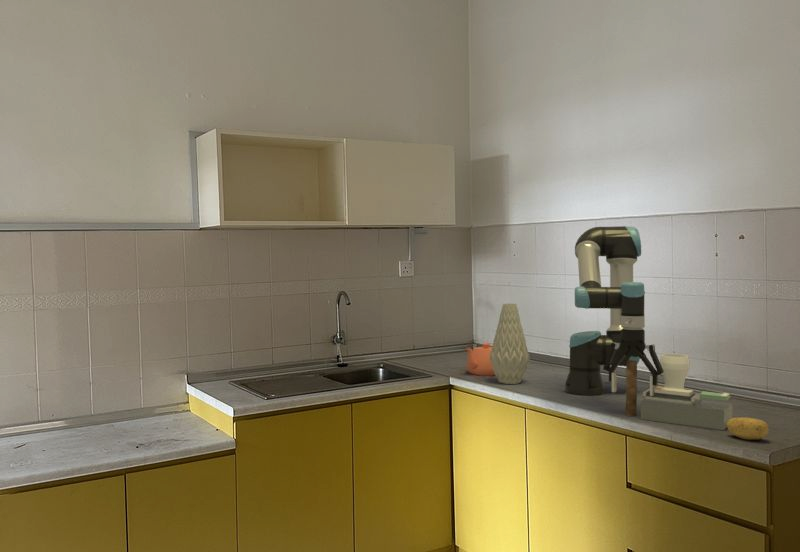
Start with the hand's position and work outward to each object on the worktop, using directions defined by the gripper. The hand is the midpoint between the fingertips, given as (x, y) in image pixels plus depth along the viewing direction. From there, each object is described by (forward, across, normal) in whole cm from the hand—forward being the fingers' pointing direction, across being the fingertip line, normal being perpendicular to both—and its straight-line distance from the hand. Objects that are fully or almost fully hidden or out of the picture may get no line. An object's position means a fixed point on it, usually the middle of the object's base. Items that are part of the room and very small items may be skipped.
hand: (632, 393), depth 236 cm
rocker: (-2, +12, +2) cm, 13 cm away
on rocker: (-1, +25, +2) cm, 25 cm away
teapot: (+6, -80, +45) cm, 91 cm away
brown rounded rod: (+7, -1, 0) cm, 7 cm away
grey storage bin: (+8, +16, +2) cm, 18 cm away
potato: (+8, +36, -11) cm, 39 cm away
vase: (+6, -60, +31) cm, 68 cm away
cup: (+7, +2, +43) cm, 44 cm away
